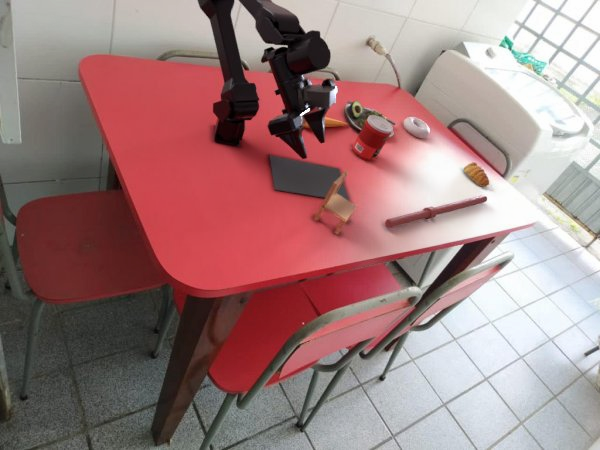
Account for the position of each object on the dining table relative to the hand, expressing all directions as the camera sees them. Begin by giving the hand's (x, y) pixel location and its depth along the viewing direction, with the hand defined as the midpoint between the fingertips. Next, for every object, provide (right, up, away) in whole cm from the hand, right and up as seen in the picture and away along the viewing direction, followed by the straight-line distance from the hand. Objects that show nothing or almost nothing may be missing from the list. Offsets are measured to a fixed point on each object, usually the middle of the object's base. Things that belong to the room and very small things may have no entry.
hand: (314, 150), depth 89 cm
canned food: (+16, +5, +34) cm, 38 cm away
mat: (-1, -4, +15) cm, 16 cm away
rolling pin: (+36, -13, +26) cm, 46 cm away
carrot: (+7, +16, +38) cm, 42 cm away
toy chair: (+4, -15, +8) cm, 17 cm away
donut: (+38, +17, +58) cm, 71 cm away
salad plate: (+19, +18, +48) cm, 55 cm away
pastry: (+56, 0, +50) cm, 75 cm away
